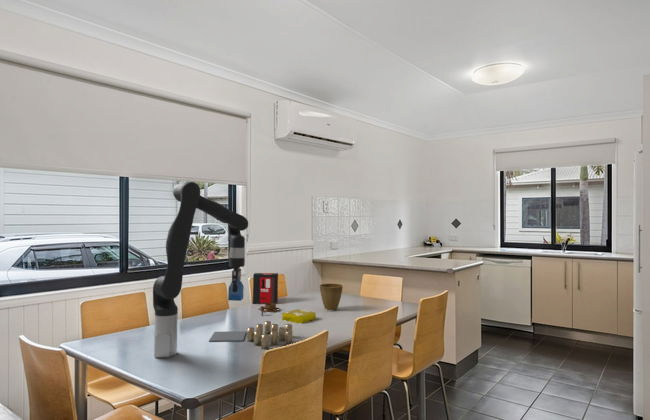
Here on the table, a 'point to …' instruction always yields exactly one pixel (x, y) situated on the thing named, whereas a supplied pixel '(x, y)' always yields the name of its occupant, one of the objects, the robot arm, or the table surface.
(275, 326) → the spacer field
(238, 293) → the perfume bottle
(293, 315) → the element tile
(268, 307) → the brown piece
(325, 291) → the plant pot
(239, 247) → the robot arm
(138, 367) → the table surface
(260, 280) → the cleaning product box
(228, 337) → the mat
